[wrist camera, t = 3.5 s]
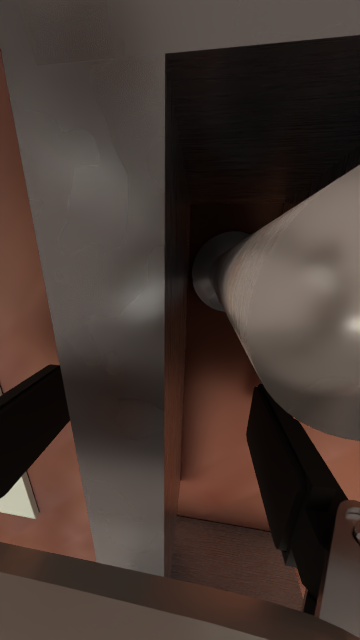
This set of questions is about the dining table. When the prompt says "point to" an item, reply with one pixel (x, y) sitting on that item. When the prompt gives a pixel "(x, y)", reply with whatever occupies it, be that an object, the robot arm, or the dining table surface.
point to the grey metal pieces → (283, 359)
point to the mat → (20, 498)
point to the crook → (159, 201)
